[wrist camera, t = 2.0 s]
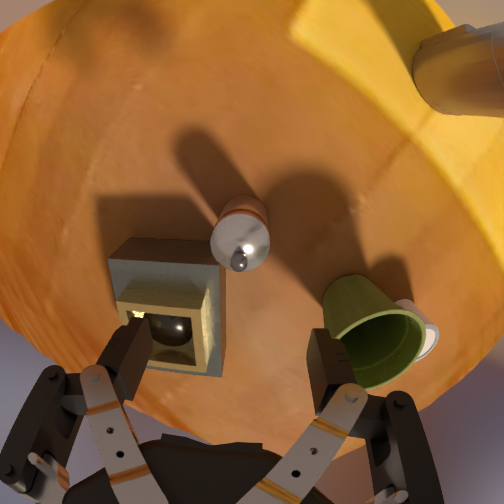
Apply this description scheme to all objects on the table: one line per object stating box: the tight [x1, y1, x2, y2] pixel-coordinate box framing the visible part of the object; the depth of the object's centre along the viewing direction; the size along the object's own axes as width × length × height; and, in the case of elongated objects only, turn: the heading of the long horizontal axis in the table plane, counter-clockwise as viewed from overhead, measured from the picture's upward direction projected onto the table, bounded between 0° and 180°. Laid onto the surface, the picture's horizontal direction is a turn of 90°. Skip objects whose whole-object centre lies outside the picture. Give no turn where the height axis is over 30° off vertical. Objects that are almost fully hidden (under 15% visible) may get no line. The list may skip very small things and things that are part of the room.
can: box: [210, 195, 270, 272], centre depth 27 cm, size 5×5×9 cm
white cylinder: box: [394, 299, 439, 362], centre depth 33 cm, size 7×7×7 cm
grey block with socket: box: [108, 238, 226, 377], centre depth 32 cm, size 16×12×8 cm
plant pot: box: [323, 274, 426, 391], centre depth 30 cm, size 12×12×11 cm
